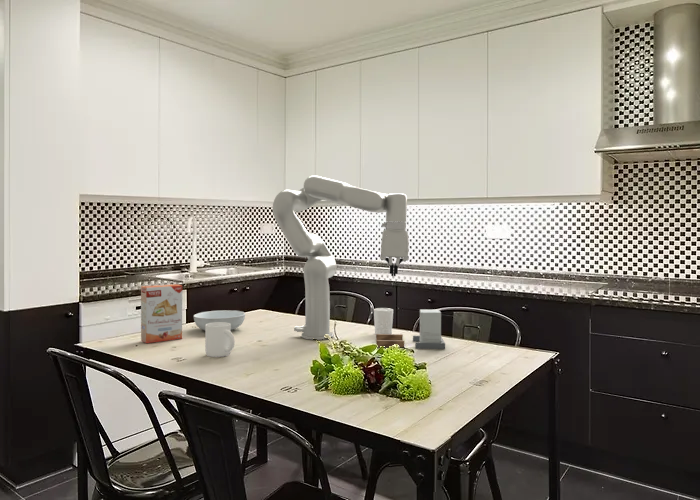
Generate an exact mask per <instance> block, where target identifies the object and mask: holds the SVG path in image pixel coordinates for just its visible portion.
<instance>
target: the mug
mask: <svg viewBox="0 0 700 500" xmlns="http://www.w3.org/2000/svg"><path fill="white" fill-rule="evenodd" d="M204 331H205V333H204V334H205V335H204V336H205V337H204V338H205V340H204V341H205V355H206V356H207V357H209V358H223V357H227V356H229V355H230V354H231V353H232V351H233V349H234V347H235V341H236V340H235V335H234V334H233V333H232V330H231V324H230V323H226V322H214V323H208V324H206V325H205V330H204Z"/></svg>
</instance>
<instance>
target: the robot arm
mask: <svg viewBox="0 0 700 500" xmlns="http://www.w3.org/2000/svg"><path fill="white" fill-rule="evenodd" d="M321 201H325V202H329V203H334V204H336V205H341V206H346V207H347V206H348V207H351V208H355V209H358V210H362V211H366V212H370V213H375V214H376V213H377V214H379V213H381V214H382V213H385V222H383V223H382V222H381V227H382V228H385V229H383V231H382V236H381V245H380V256H379V259H380V260H383V261H386V262H387V264H388V265H389V274H390V276H391V277H397V275H398V273H399V272H398V271H399V270H398V269H399V265H400V264H402V262H406V261H407V262H408V261H409V250H410V249H409V246H410V245H409V243H410V242H409V232H408V231H407V209H408V207H407V206H408V196H407V195H406V194H405V193H398V192H397V193H394V192H393V193H389V194H388V193H382V192H379V191H378V192H377V191H374V190H373V191H372V190H369V189H364V188H361V187H358V186H353V185H351V184H349V183H347V182H343V181H339V180H336V179H331V178H328V177H322V176H320V175H310V176H308V177H307V178H306V179H305V180H304V182H303V187H302V188H300V189H298V190H294V189H293V190H292V189H284V190H281V191H280V192H278V193H277V194H276V196H275V198H274V199H273V203H272V216H273V218H274V219H275V222H276V223H277V225H278V227H279V228H280V230H281V231H282V233H283V235H284V237H285V238H286V241H287V242H288V244H289V245H290V247H291V248H292V251H293V252H294V253H295V255H297V256H298V257H301V258H307V260H306V262H305V264H304V266H303V279H304V288H305V291H304V293H305V294H304V296H305V314H304V315H305V317H304V318H305V321H304V323H305V324H304V325H302V326H298V325H296V326H295V325H294V327H293V329H294V330H293V331H294V332H296V333H298V332H299V333H300V332H301V334H300V335H301V338H302V339H305V340H313V338H314V339H317V340H316V341H321V340H322V339H323V340H325V339H324V338H325V337H324V335H325V334H328V335H329V336H331V337H332V338H334V336H335V335H334V333H333V332H331V331H330V330H331V329H330V324H331V323H330V322H331V321H330V320H331V319H330V318H331V316H330V315H331V314H330V313H331V310H330V309H331V301H330V299H331V298H330V297H331V296H330V295H331V294H330V284H329V282H330V281H329V278H332V277H333V276H335V274H336V273H337V268H338V267H337V262H336V259H335V258H334V257H333V254H332V253H331V252H330V250H329V248H328V246H327V245H326V243H325V241H324V240H323V239H322V237H320V235H317V234H316V233H313V232H309V231H308V230H307V228H306V227H305V225H304V224H303V222H302V220H301V219H300V218H299V216H297V214H296V213H300V212H304V211H305V210H307V209H309V208H311V207H312V206H314V205H316V204H318V203H320V202H321ZM393 258H396V260H395V263H393ZM323 340H322V341H323ZM313 341H314V340H313Z"/></svg>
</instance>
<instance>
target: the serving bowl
mask: <svg viewBox="0 0 700 500" xmlns="http://www.w3.org/2000/svg"><path fill="white" fill-rule="evenodd" d="M245 317H246V313H245V312H244V311H240V310H229V309H228V310H225V309H224V310H223V309H222V310H211V311H201V312H198V313H196V314H193V321H194V324H195V325H196V326H197V327H198V328H199V329H200V330H203V331H205V325H206V324H208V323H214V322H226V323H230V324H231V331H232V330H234V329H237V328H239V327H240V326H241V325H242V324H243V323H244V322H245V319H246V318H245Z"/></svg>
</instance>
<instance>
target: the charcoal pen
mask: <svg viewBox="0 0 700 500" xmlns="http://www.w3.org/2000/svg"><path fill="white" fill-rule="evenodd" d="M412 342H415V345H414V346H415V349H418V350H419V349H422V350H423V349H425V350H427V349H429V350H430V349H431V350H446V342H445V341H444V339H443V338H442V336H441V343H426V342H420V335H412Z"/></svg>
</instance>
